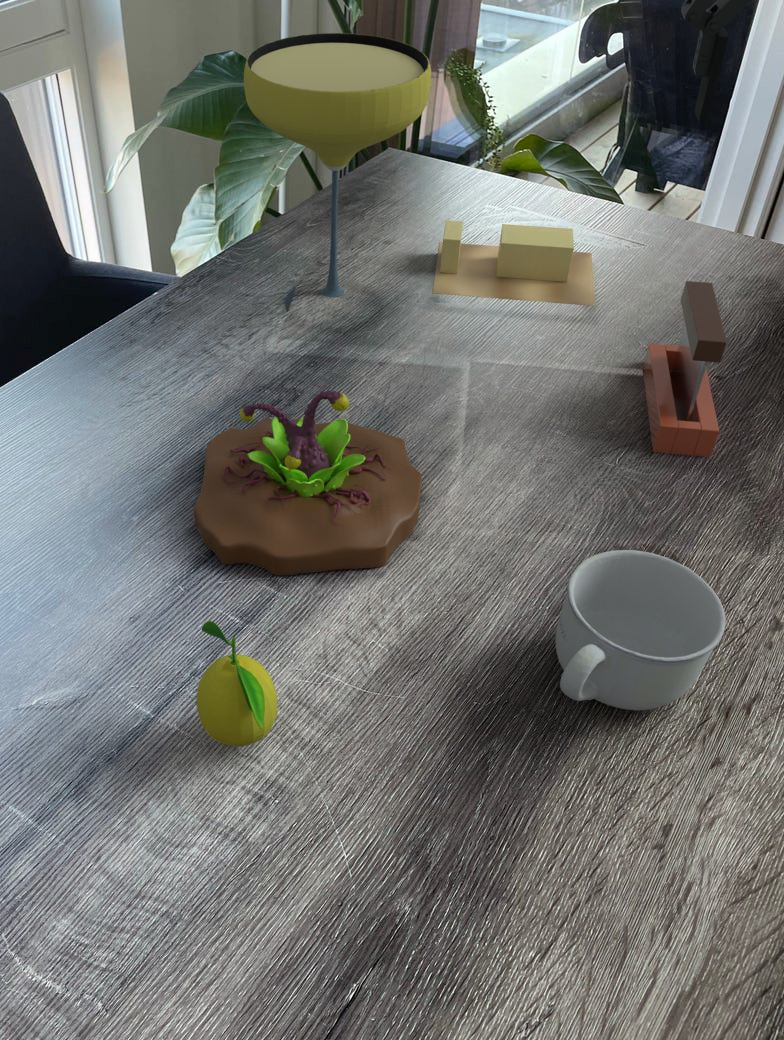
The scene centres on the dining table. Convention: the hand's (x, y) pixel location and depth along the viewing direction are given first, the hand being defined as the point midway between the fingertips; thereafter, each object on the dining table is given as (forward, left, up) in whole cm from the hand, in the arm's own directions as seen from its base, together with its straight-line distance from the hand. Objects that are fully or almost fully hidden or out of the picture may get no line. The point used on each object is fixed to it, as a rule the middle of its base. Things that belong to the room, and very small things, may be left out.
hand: (783, 119), depth 88 cm
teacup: (+11, +44, -25) cm, 52 cm away
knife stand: (+3, +7, -25) cm, 26 cm away
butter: (+17, -19, -24) cm, 35 cm away
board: (+19, -18, -25) cm, 37 cm away
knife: (+3, +7, -24) cm, 26 cm away
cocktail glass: (+39, -10, -25) cm, 48 cm away
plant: (+36, +26, -25) cm, 52 cm away
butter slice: (+27, -19, -24) cm, 41 cm away
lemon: (+37, +53, -25) cm, 70 cm away
